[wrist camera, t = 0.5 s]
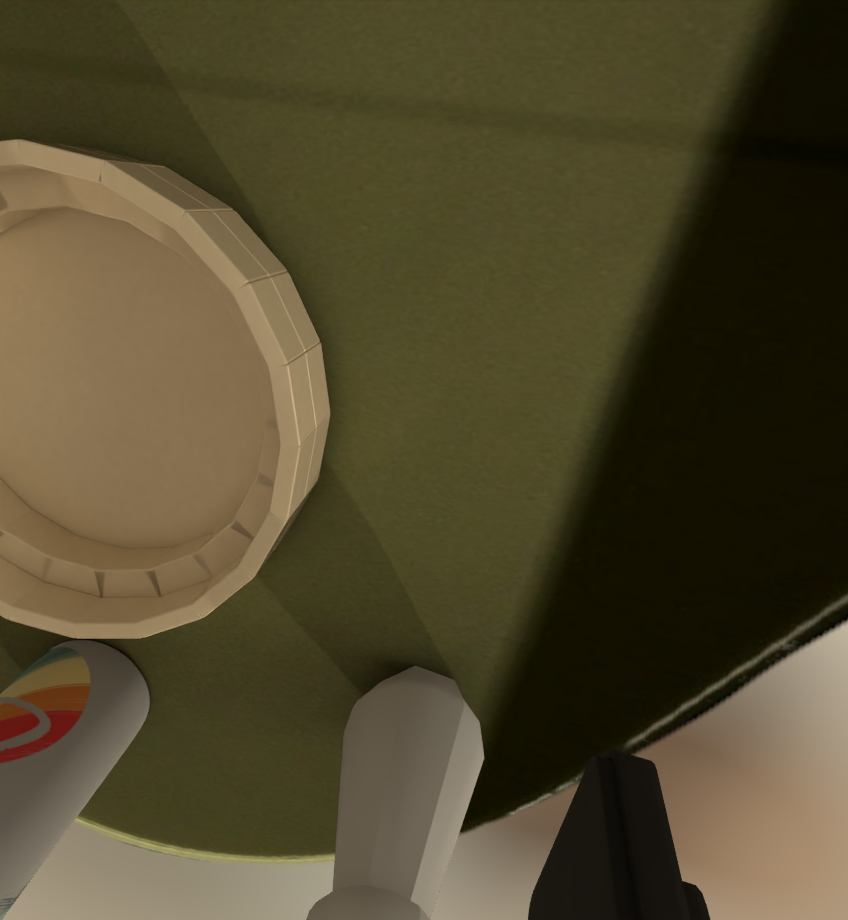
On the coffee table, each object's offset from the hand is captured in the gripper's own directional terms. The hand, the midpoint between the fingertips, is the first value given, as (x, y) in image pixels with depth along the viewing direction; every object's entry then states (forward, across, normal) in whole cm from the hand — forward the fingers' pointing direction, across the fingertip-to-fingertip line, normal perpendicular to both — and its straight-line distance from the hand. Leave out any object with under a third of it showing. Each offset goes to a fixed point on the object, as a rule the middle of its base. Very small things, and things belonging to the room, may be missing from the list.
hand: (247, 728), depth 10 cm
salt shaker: (+19, -3, +14) cm, 23 cm away
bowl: (+18, +12, +3) cm, 22 cm away
